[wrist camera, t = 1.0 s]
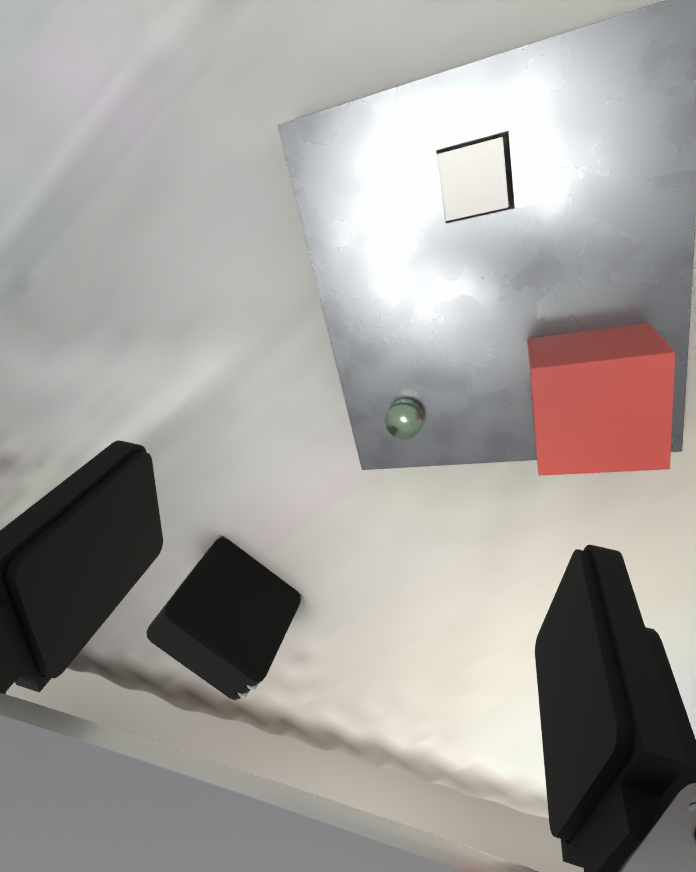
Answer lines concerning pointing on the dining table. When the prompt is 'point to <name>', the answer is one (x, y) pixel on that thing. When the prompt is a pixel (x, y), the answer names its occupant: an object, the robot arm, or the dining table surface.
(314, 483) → the dining table surface
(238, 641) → the electronic device
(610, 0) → the dining table surface
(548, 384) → the red block
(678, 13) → the board
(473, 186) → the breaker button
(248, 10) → the dining table surface
